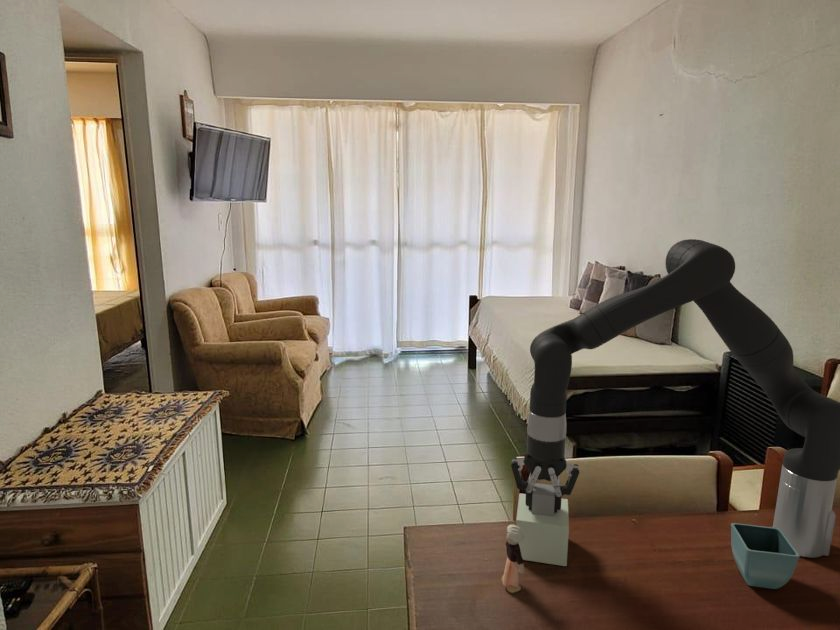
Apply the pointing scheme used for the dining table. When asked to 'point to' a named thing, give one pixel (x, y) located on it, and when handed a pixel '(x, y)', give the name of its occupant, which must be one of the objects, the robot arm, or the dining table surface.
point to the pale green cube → (543, 527)
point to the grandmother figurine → (513, 559)
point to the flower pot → (763, 555)
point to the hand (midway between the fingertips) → (542, 508)
